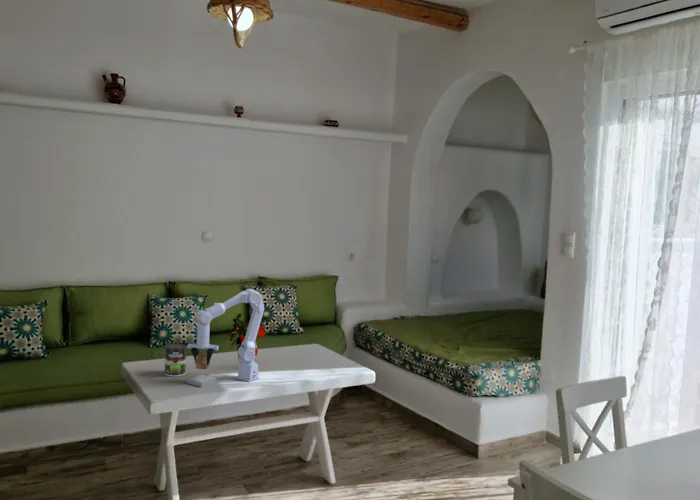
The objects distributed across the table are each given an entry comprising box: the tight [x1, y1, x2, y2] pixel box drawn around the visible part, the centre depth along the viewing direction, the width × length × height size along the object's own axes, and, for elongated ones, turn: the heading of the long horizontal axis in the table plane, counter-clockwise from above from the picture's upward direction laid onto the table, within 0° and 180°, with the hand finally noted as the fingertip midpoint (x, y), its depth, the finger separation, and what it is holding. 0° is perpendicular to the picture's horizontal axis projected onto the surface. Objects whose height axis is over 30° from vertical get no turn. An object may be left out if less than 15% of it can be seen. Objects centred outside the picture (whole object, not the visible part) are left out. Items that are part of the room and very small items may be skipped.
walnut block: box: [195, 353, 210, 370], centre depth 291 cm, size 5×5×6 cm
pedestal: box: [185, 374, 218, 388], centre depth 291 cm, size 10×10×2 cm
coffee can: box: [164, 343, 188, 378], centre depth 302 cm, size 10×10×14 cm
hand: (202, 363), depth 291 cm, fingers closed on walnut block, 5 cm apart
